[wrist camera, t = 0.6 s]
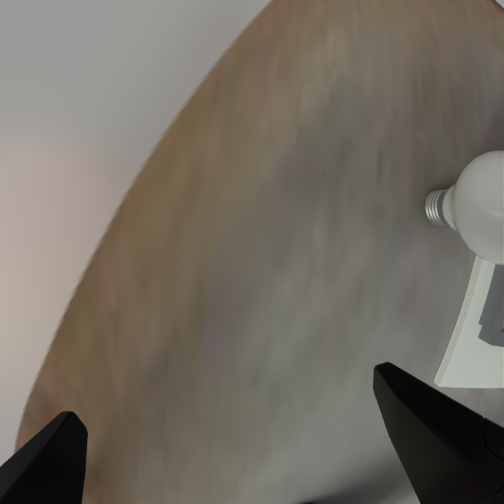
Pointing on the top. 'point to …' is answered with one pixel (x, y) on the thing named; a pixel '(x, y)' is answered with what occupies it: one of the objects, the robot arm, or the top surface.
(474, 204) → the lightbulb
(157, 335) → the top surface
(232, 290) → the top surface
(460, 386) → the bulb holder
